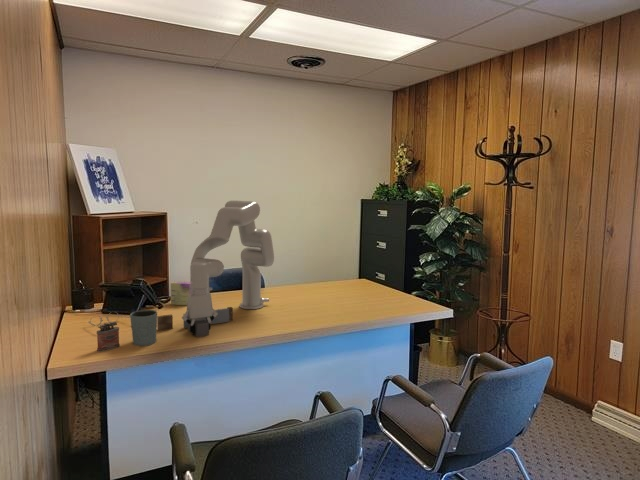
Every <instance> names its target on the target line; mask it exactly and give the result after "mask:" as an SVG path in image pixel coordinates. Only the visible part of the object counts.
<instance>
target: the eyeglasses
mask: <svg viewBox="0 0 640 480" xmlns="http://www.w3.org/2000/svg"><path fill="white" fill-rule="evenodd" d="M115 313H116V314H117V319H116V320H115V322H117V321H118V320H119V317H124V318H128V319H130V316H127V315H126V316H125V315H122V314H119V313H118V312H116V311H115ZM110 314H111V312H110V313H109V314H108V315H106V314H105V315H102V316H100V315H97V314H96V315H93V316H92V317H91V318H90V321H88V323H87V324H90V325H91V326H92V327H96V328H99V329H100V325H102V323H103V321H104V319H103V317H104V316H105V317H106V320H107V321H110V319H109V315H110ZM94 316H96V317H99V319H100V322H99V323H98V324H97V325H96V324H94V323H92V318H94Z"/></svg>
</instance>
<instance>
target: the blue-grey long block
mask: <svg viewBox="0 0 640 480" xmlns="http://www.w3.org/2000/svg"><path fill="white" fill-rule="evenodd" d="M214 310H215V311H216V312H217V313H218V315H217V316H216V317H215V318H214V319H213V320H212V321H211V323H210V325H215V324H221V323H222V324H223V323H229V322H230V321H229V309H228V308H219V309H214ZM184 314H185V313H183V314H182V316H183V315H184ZM188 318H189V316H187V319H188ZM202 319H204V320H206V317H205V318H202ZM182 320H183V319H182ZM206 321H207V320H206ZM183 328H185V329H186V328H187V329H188V323H187V322H186V321H184V320H183Z"/></svg>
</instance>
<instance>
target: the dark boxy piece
mask: <svg viewBox="0 0 640 480" xmlns="http://www.w3.org/2000/svg"><path fill="white" fill-rule="evenodd" d="M188 319H189V320H190V318H188ZM194 326H195V334H194V335H193V336H195V337H197V338H202V337H206V336H210V330H209V322H207V321H206V320H204V319H202V318H198V319H195V321H194ZM187 331H188V332H189V333H190V334H192V333H191V332H190V324H188V327H187Z"/></svg>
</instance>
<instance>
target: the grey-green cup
mask: <svg viewBox="0 0 640 480" xmlns="http://www.w3.org/2000/svg"><path fill="white" fill-rule="evenodd" d="M157 316H158V311H157V310H154V309H141V310H136V311H135V310H134V311H133V312H131V313H130V314H129V317H130V318H129V319H130V325H131V326H130V327H131V328H130V329H131V335H132V344H133V345H135V346H138V347H145V346H150V345H154V344H155V343H156V342H157V331H158V327H157Z"/></svg>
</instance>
